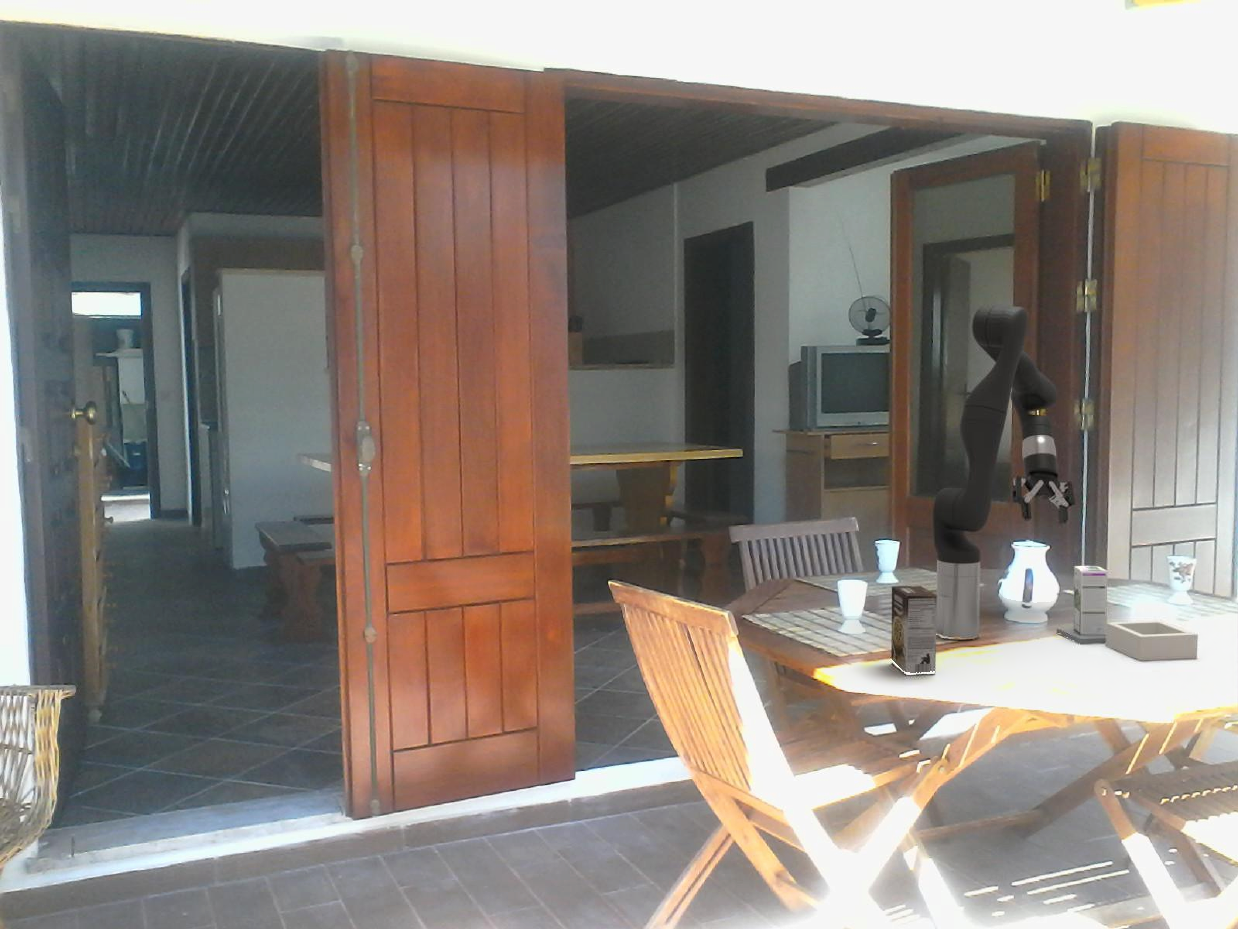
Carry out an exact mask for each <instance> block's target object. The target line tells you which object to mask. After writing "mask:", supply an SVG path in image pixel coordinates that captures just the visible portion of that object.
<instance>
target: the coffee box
mask: <svg viewBox="0 0 1238 929" xmlns="http://www.w3.org/2000/svg"><path fill="white" fill-rule="evenodd" d="M933 593H934V592H932V591H930V590H928V589H927V588H924V587H923V586H922V585H920V586H919V585H916V586H912V585H895V586H894V585H893V586H891V639H890V640H891V645H890V646H891V649H890V650H891V651H890V652H891V653H890V654H891V655H890V657H891V659H892V660H893V661H894V662H895V663H896V664H897V665H898V666H899V667H900V668H901V669H902V670H903V671H905V672H910V673H916V672H917V673H919V672H920V673H921V672H930V671H932V672H933V671H935V672H936V656H937V653H936V652H937V635H936V624H937V595H935V594H933ZM891 659H890V660H891Z"/></svg>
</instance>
